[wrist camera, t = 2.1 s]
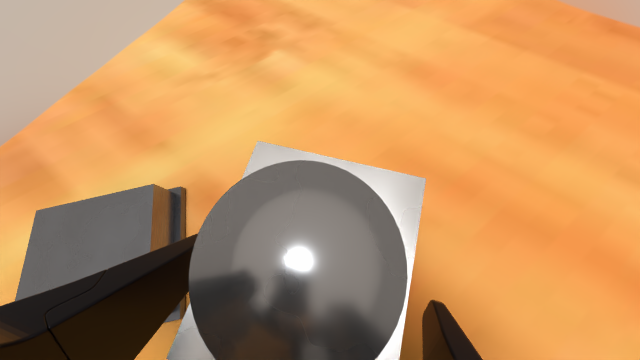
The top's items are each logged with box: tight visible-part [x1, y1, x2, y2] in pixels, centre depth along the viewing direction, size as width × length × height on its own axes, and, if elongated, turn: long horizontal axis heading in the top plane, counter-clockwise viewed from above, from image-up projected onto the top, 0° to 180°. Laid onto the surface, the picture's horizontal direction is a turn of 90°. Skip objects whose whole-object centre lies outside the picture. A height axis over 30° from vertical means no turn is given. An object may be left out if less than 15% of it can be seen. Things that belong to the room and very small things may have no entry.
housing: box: [166, 141, 426, 360], centre depth 11 cm, size 7×6×13 cm
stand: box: [15, 184, 185, 323], centre depth 17 cm, size 10×10×3 cm
